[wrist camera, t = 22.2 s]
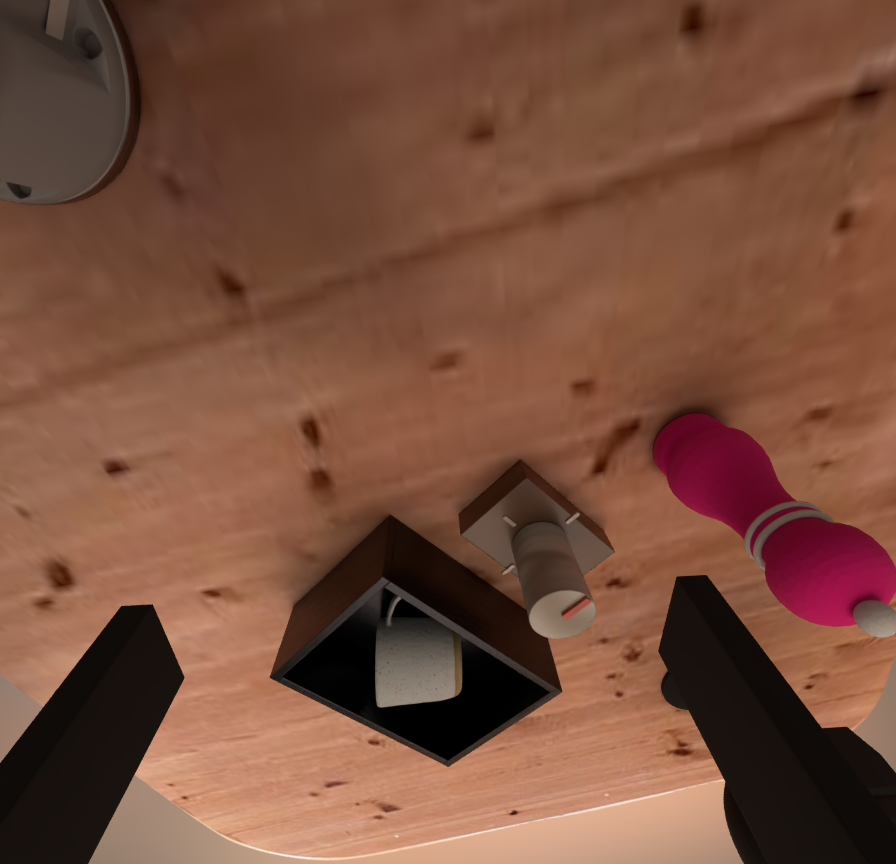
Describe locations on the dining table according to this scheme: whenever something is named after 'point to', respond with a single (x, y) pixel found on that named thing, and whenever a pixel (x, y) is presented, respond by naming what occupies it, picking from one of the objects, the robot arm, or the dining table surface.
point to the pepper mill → (779, 527)
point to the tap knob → (552, 582)
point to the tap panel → (529, 519)
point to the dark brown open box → (422, 596)
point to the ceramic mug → (415, 660)
